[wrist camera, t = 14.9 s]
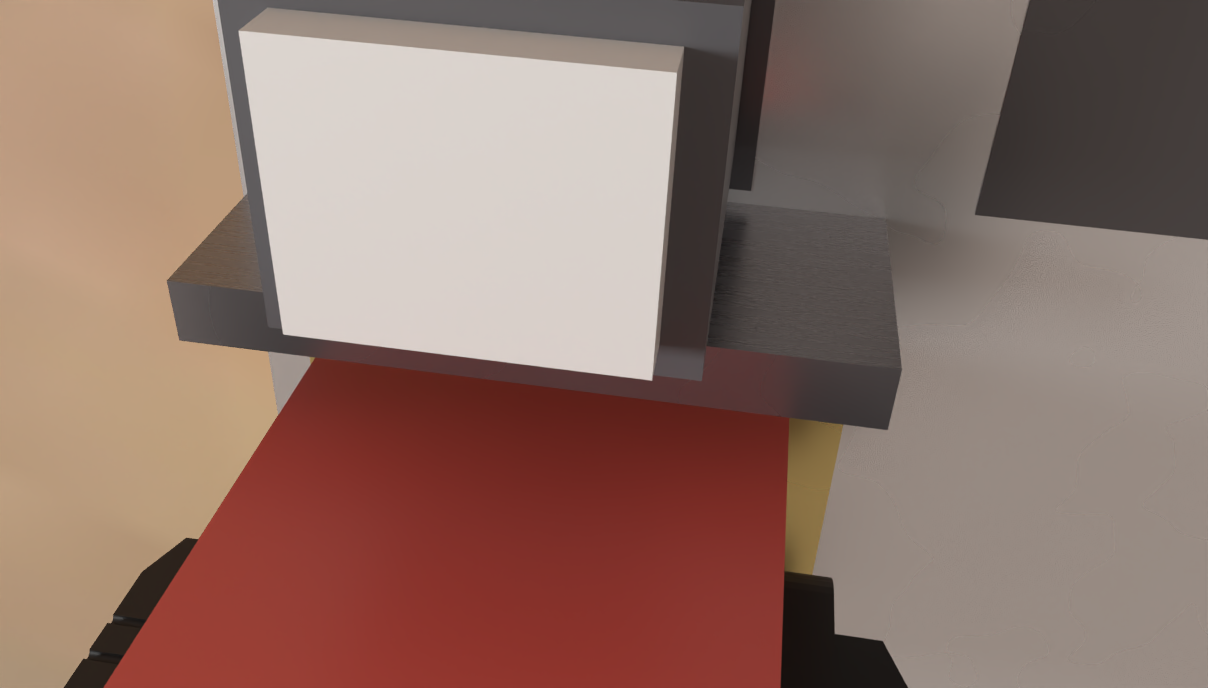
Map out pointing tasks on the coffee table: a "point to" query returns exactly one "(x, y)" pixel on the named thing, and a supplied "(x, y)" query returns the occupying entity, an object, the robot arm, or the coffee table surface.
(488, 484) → the cap
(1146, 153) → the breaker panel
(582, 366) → the toggle
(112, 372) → the coffee table surface
